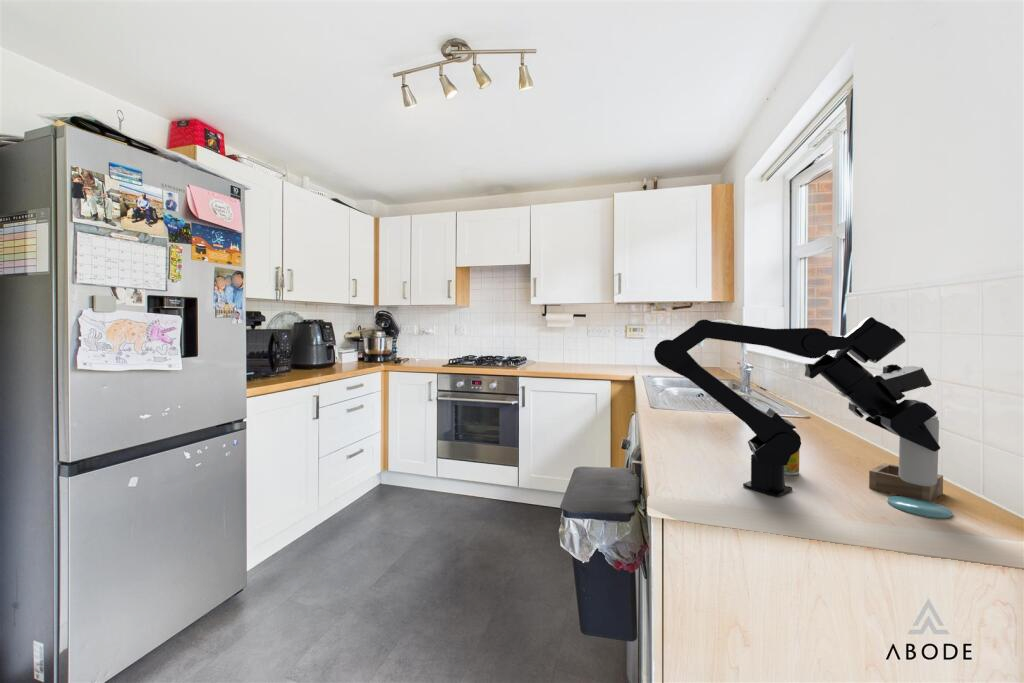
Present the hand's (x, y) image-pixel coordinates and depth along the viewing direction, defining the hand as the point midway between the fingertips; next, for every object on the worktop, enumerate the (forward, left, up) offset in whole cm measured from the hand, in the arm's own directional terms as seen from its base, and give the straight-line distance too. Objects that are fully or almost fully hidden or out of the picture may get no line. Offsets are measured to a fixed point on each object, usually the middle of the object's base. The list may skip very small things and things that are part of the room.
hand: (928, 445), depth 70 cm
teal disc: (-1, +1, -11) cm, 11 cm away
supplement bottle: (0, +23, -11) cm, 25 cm away
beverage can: (-1, +1, -7) cm, 7 cm away
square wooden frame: (+8, +5, -11) cm, 15 cm away
